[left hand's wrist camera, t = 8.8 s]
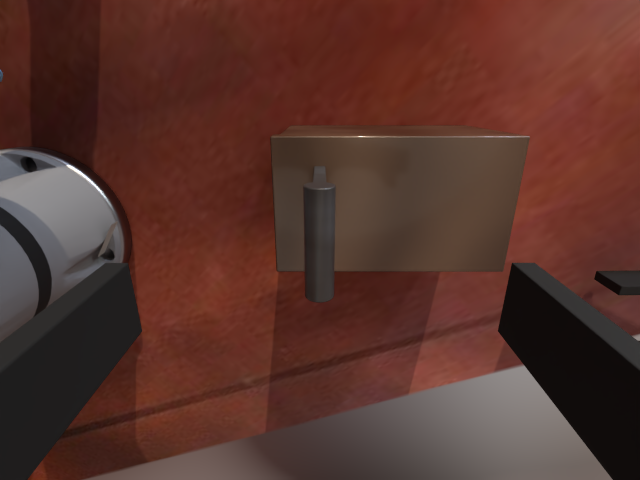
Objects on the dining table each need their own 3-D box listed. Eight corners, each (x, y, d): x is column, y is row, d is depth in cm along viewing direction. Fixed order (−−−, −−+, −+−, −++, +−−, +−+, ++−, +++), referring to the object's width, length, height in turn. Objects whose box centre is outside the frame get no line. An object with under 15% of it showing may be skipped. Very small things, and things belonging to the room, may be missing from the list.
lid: (278, 264, 26) (261, 330, 19) (272, 134, 23) (249, 151, 15) (495, 264, 26) (566, 330, 19) (520, 134, 23) (618, 150, 15)
